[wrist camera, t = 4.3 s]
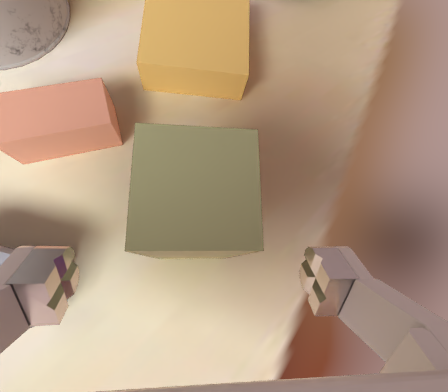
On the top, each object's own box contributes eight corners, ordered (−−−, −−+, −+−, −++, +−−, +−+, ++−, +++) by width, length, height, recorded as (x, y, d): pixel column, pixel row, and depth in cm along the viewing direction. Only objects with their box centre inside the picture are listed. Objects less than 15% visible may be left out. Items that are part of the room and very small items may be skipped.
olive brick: (159, 258, 16) (124, 251, 7) (162, 194, 17) (134, 122, 8) (224, 258, 17) (263, 250, 8) (223, 196, 18) (257, 129, 9)
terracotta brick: (25, 165, 17) (-9, 144, 14) (19, 123, 17) (-14, 94, 14) (123, 146, 18) (110, 122, 15) (114, 107, 18) (101, 77, 16)
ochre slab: (144, 92, 19) (136, 62, 16) (154, 15, 21) (148, -24, 18) (240, 102, 20) (248, 75, 17) (241, 27, 22) (249, -9, 19)
